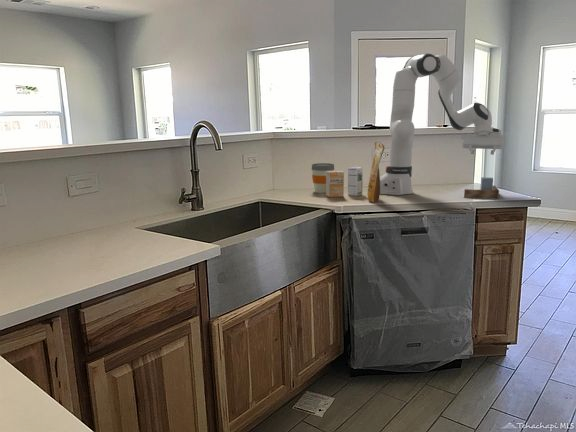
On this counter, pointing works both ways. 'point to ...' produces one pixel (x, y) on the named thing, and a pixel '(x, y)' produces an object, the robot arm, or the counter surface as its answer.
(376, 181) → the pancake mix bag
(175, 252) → the counter surface
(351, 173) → the syrup box
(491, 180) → the slate block
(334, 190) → the supplement box
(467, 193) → the brown wooden tray
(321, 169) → the reusable coffee cup
